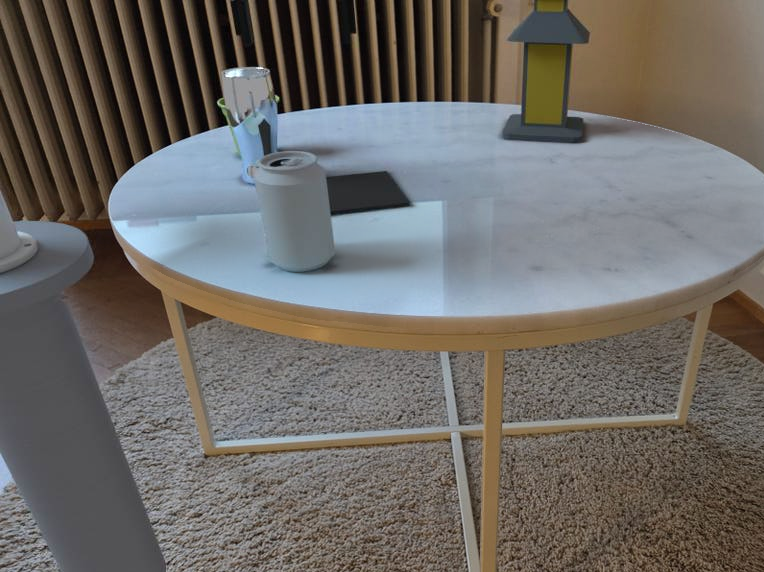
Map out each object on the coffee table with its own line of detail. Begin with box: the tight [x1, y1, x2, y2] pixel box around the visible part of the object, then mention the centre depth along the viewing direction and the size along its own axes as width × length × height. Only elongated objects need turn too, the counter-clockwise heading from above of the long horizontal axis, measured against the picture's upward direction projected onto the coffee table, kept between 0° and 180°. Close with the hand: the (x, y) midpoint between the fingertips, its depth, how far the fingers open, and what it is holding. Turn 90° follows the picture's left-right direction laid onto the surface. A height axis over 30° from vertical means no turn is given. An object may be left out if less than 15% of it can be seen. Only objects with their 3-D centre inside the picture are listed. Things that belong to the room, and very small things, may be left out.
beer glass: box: [220, 66, 279, 185], centre depth 98 cm, size 7×7×15 cm
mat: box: [326, 170, 410, 216], centre depth 96 cm, size 14×14×1 cm
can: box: [254, 150, 336, 273], centre depth 75 cm, size 8×8×12 cm
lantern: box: [501, 0, 591, 144], centre depth 117 cm, size 14×14×30 cm
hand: (298, 42), depth 68 cm, fingers open, 9 cm apart
